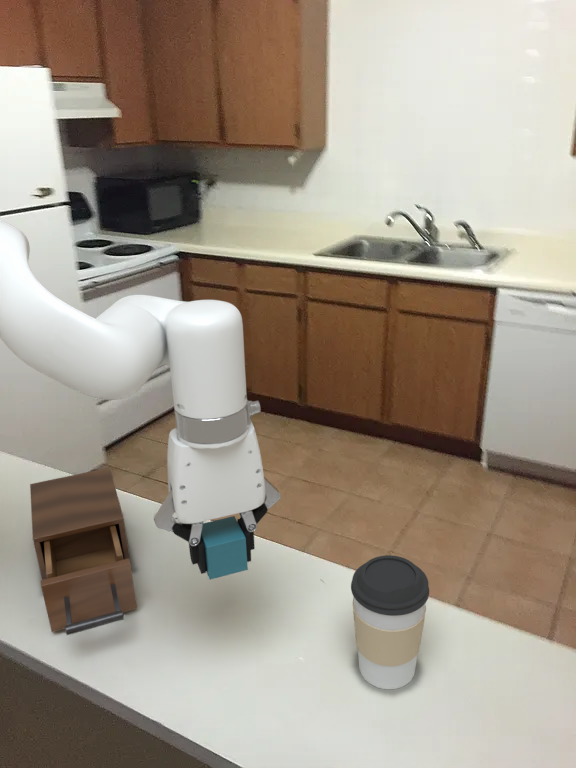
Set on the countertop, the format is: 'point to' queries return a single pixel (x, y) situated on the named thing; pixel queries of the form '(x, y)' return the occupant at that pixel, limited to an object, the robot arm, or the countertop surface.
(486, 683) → the countertop surface
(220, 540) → the block
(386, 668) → the coffee cup
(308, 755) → the countertop surface
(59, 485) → the cabinet
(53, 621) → the drawer
